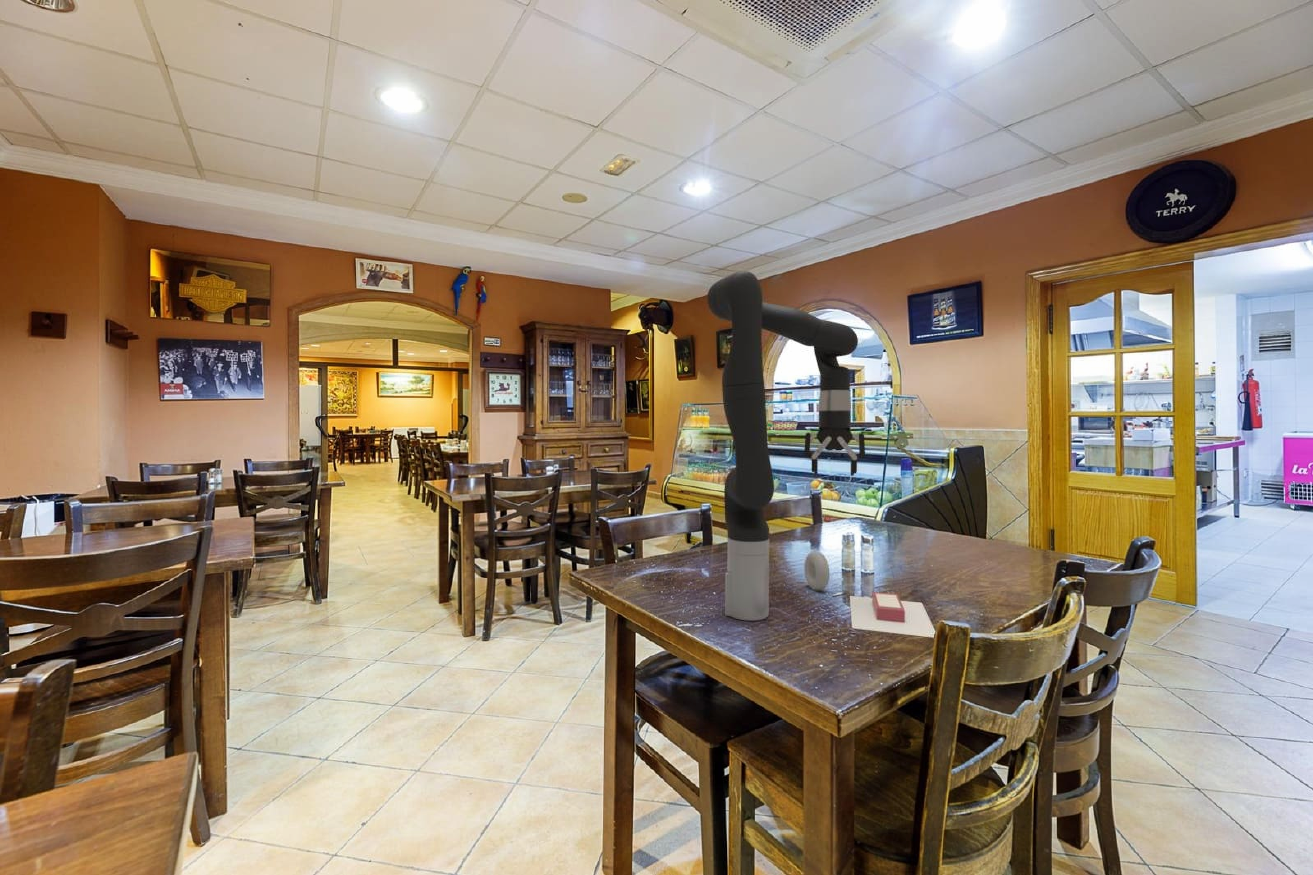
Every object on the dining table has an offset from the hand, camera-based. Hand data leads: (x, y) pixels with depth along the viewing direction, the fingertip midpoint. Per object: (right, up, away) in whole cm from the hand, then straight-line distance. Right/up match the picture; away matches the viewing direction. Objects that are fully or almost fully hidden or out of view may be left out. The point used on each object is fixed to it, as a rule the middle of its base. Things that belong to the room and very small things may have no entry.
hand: (833, 474), depth 134 cm
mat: (+8, -31, -14) cm, 35 cm away
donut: (-3, -30, +5) cm, 31 cm away
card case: (+10, -29, -7) cm, 31 cm away
